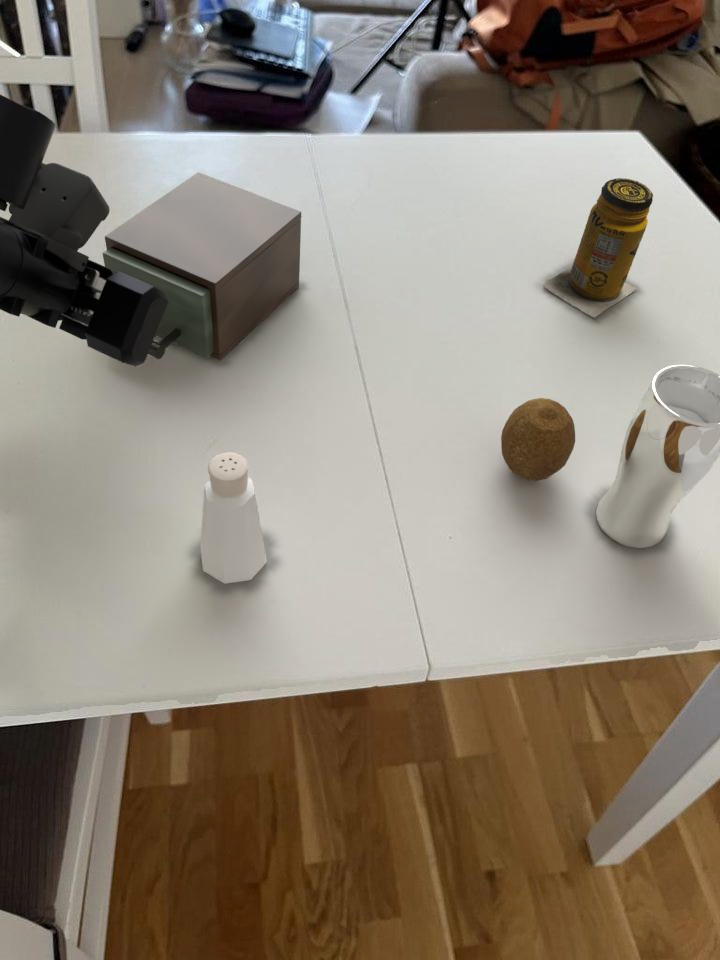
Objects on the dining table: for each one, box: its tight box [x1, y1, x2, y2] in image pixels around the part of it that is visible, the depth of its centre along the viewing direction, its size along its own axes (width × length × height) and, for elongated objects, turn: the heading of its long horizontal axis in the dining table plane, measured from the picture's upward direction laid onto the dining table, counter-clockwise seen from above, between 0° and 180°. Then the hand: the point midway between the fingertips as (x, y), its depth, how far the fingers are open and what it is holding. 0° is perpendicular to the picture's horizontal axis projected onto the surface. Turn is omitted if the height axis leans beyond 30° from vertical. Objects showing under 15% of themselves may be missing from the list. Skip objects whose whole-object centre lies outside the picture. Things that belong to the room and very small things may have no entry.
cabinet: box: [104, 171, 302, 362], centre depth 84 cm, size 15×13×9 cm
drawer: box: [102, 248, 214, 360], centre depth 81 cm, size 18×11×7 cm, turn 151°
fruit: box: [500, 397, 576, 481], centre depth 72 cm, size 6×6×8 cm
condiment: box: [541, 177, 654, 319], centre depth 89 cm, size 7×8×12 cm
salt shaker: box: [199, 451, 268, 584], centre depth 62 cm, size 5×5×11 cm
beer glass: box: [595, 364, 720, 549], centre depth 66 cm, size 7×7×15 cm
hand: (114, 309), depth 73 cm, fingers closed
